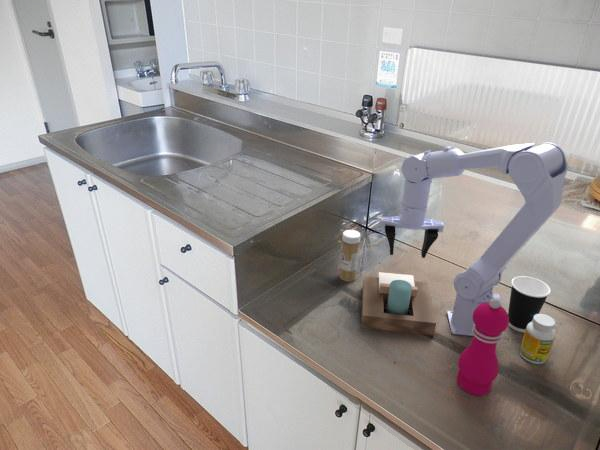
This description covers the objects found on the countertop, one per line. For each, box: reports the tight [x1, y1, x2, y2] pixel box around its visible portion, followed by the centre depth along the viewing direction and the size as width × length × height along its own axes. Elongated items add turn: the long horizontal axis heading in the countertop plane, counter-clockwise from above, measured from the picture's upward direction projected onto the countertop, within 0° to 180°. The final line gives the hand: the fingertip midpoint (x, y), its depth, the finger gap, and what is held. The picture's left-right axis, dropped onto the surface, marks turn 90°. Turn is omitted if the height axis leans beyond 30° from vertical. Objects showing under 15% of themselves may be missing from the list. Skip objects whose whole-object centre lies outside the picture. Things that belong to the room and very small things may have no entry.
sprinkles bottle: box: [339, 229, 361, 283], centre depth 117 cm, size 5×5×14 cm
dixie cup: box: [507, 275, 552, 333], centre depth 102 cm, size 8×8×11 cm
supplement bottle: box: [519, 313, 556, 365], centre depth 93 cm, size 5×5×10 cm
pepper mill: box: [456, 298, 509, 396], centre depth 83 cm, size 7×7×20 cm
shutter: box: [378, 271, 418, 297], centre depth 110 cm, size 9×9×3 cm
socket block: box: [360, 275, 437, 337], centre depth 107 cm, size 16×16×4 cm
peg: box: [385, 280, 412, 315], centre depth 103 cm, size 5×5×9 cm
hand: (407, 254), depth 111 cm, fingers open, 7 cm apart
